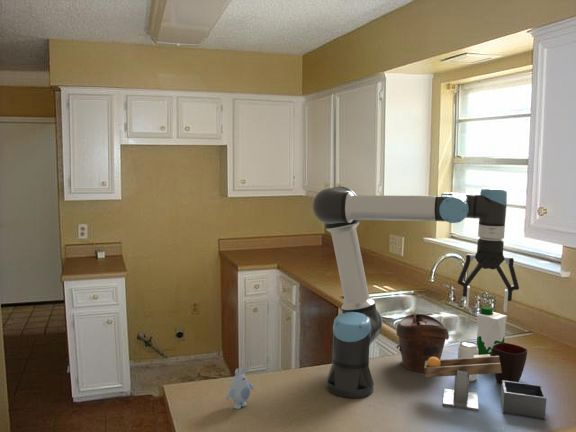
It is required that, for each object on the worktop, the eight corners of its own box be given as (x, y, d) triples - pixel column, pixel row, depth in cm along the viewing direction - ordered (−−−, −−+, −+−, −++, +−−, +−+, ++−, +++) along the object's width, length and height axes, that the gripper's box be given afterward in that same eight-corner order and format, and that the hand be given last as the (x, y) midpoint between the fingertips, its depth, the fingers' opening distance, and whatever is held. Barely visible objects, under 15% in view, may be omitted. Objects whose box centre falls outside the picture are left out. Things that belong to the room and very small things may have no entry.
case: (416, 351, 208) (418, 306, 206) (458, 369, 192) (461, 320, 190) (382, 361, 199) (383, 313, 196) (423, 381, 182) (425, 329, 180)
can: (461, 372, 189) (463, 339, 188) (479, 377, 185) (481, 343, 184) (453, 378, 184) (455, 344, 183) (472, 383, 180) (474, 348, 179)
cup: (485, 381, 182) (487, 347, 181) (507, 372, 191) (509, 339, 189) (513, 392, 174) (515, 356, 173) (535, 381, 183) (537, 347, 181)
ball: (428, 372, 167) (425, 359, 167) (428, 367, 171) (426, 355, 171) (441, 371, 166) (439, 358, 166) (441, 366, 170) (439, 354, 170)
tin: (502, 413, 159) (504, 392, 159) (500, 400, 168) (502, 380, 167) (544, 419, 156) (546, 398, 155) (540, 406, 165) (541, 385, 164)
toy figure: (233, 416, 154) (233, 375, 153) (219, 408, 158) (219, 369, 157) (260, 404, 162) (260, 365, 160) (246, 397, 166) (246, 359, 165)
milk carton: (483, 356, 206) (487, 304, 203) (506, 363, 199) (510, 310, 197) (471, 361, 200) (474, 308, 198) (494, 369, 193) (498, 314, 191)
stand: (443, 405, 164) (445, 369, 162) (444, 390, 174) (445, 357, 173) (478, 411, 161) (480, 374, 159) (477, 395, 171) (479, 361, 170)
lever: (425, 377, 166) (424, 368, 166) (428, 361, 179) (426, 353, 179) (501, 372, 159) (500, 363, 159) (498, 356, 173) (497, 348, 172)
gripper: (451, 237, 166) (447, 308, 169) (533, 243, 160) (527, 316, 162) (451, 234, 173) (447, 302, 176) (529, 239, 167) (524, 309, 169)
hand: (485, 309), depth 169 cm, fingers open, 10 cm apart
